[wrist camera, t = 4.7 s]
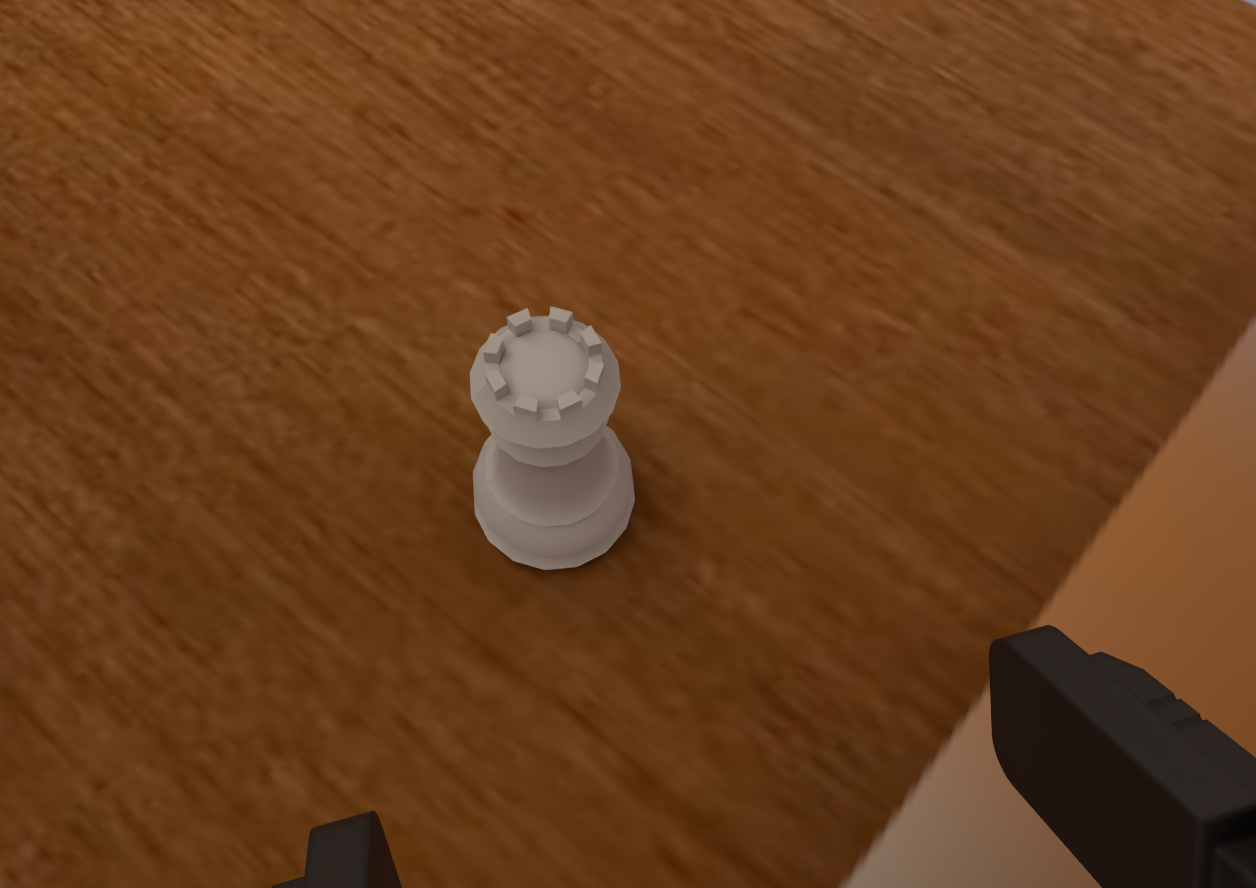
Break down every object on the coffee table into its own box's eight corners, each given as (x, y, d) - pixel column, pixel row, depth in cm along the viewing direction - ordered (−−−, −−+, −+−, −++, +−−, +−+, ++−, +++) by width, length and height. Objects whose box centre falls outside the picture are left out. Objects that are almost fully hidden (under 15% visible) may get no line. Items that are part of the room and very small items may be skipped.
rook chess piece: (497, 595, 27) (464, 481, 20) (457, 449, 29) (414, 295, 21) (655, 549, 28) (679, 422, 20) (607, 410, 29) (614, 247, 22)
